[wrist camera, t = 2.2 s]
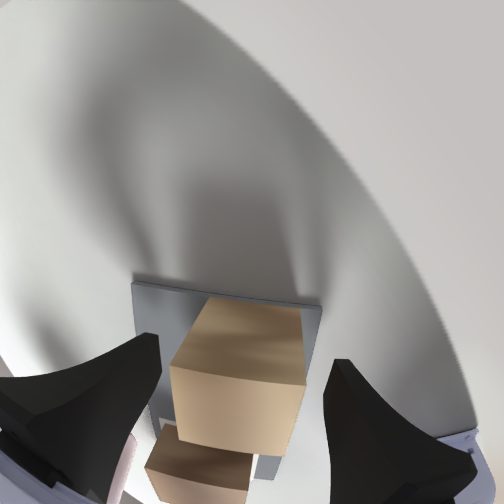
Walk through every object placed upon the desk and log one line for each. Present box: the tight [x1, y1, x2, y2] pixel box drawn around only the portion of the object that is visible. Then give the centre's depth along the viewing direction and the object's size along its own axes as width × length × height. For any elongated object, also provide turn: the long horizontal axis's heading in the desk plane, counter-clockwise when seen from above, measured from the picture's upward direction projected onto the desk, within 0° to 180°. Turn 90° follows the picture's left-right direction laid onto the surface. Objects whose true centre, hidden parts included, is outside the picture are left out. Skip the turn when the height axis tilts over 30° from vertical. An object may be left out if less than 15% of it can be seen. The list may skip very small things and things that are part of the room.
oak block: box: [169, 297, 306, 457], centre depth 10 cm, size 4×4×5 cm
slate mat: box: [131, 281, 322, 481], centre depth 15 cm, size 9×16×1 cm, turn 175°
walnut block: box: [144, 423, 254, 504], centre depth 14 cm, size 6×6×4 cm
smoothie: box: [107, 434, 137, 504], centre depth 11 cm, size 6×6×14 cm
